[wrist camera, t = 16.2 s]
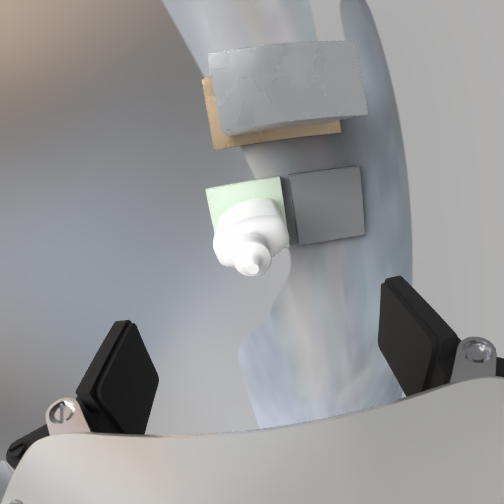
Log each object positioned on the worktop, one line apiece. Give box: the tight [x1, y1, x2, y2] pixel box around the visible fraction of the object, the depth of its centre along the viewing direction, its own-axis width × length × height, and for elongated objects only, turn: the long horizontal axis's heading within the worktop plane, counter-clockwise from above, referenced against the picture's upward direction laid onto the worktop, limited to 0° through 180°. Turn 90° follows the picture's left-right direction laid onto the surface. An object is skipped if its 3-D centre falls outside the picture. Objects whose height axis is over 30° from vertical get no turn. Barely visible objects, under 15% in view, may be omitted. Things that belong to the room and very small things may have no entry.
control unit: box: [202, 41, 368, 150], centre depth 21 cm, size 7×12×12 cm, turn 100°
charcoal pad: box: [289, 166, 365, 245], centre depth 30 cm, size 7×7×1 cm
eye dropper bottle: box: [213, 198, 289, 277], centre depth 24 cm, size 4×6×12 cm
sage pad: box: [206, 176, 290, 248], centre depth 30 cm, size 7×7×1 cm
